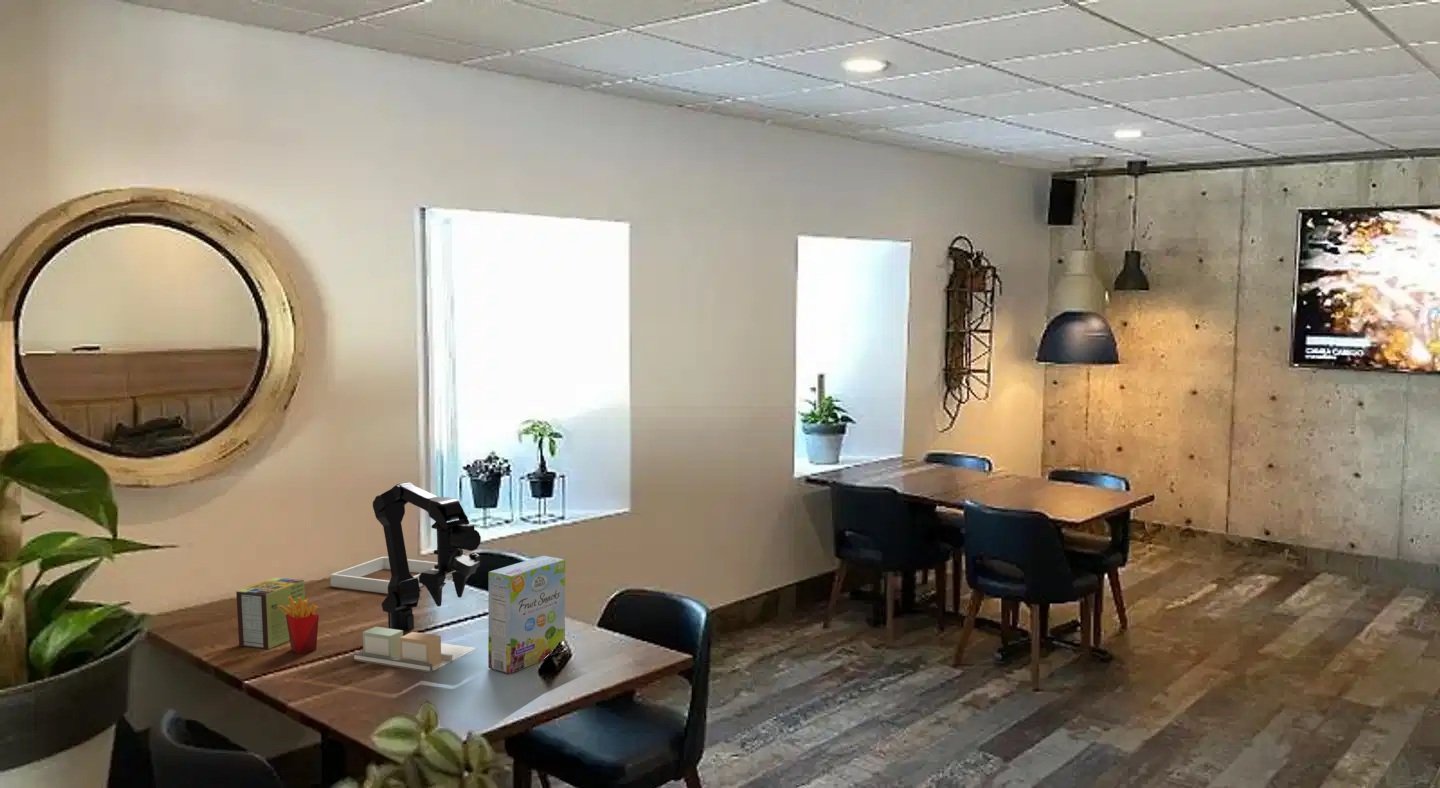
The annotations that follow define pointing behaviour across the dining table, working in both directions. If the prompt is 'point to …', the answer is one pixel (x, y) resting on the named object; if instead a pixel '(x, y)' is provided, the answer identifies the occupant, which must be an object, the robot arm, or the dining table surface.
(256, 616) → the protein box
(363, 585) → the serving tray rim
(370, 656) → the shelf
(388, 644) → the sage tea box
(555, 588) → the snack box
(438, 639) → the ochre tea box
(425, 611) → the dining table surface
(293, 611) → the french fries
